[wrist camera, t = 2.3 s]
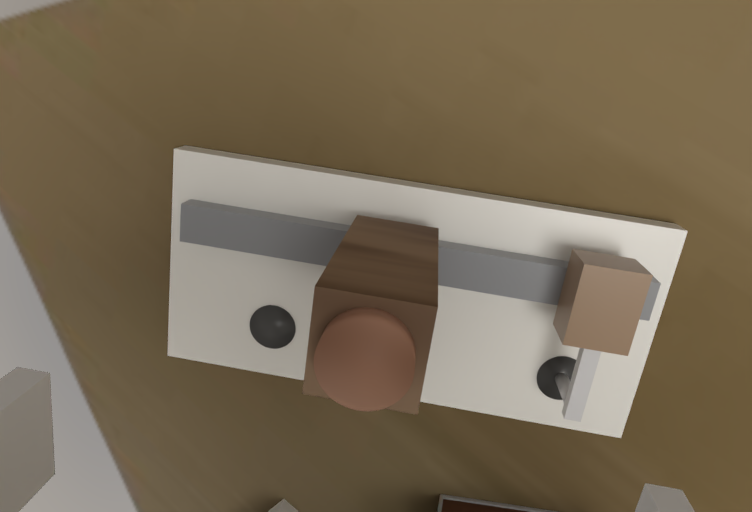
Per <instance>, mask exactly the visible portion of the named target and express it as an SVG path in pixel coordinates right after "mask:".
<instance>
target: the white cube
mask: <svg viewBox="0 0 752 512" xmlns="http://www.w3.org/2000/svg"><path fill="white" fill-rule="evenodd" d="M268 512H299V511H298V510H296V509H295V508H294V507H293V506H292V505H291V504H290V503H289V502H287V501H286V500H285V499H283V500H281V501H280V502H279V503H278V504H276V505H275V506H274V507H273V508H271V509H270V510H269V511H268Z"/></svg>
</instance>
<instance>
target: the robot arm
mask: <svg viewBox="0 0 752 512" xmlns="http://www.w3.org/2000/svg"><path fill="white" fill-rule="evenodd" d="M54 474H55V464H54V444H53V425H52V405H51V384H50V373H48V372H42V371H37V370H31V369H26V368H21V367H16V368H15V369H14V370H12V371H11V372H10V373H8V374H7V375H5V376H4V377H3V378H1V379H0V512H19V511H20V510H21V509H22V508H23V507H24V506H25V505H26V504H27V503H28V501H29V500H30V499H31V498H32V497H33V496H34V495H35V494H36V493H37V492H38V491H39V490H40V489H41V488H42V487H43V486H44V485H45V484H46V483H47V482H48V481H49V479H50V478H51V477H52V476H53V475H54ZM635 512H695V511H694V510H693V508H692V506H691V505H690V503H689V501H688V499H687V498H686V496H685V494H684V492H683V491H682V490H679V489H674V488H669V487H663V486H658V485H652V484H647V483H645V485H644V488H643V491H642V493H641V496H640V499H639V502H638V505H637V507H636V510H635Z"/></svg>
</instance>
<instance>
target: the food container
mask: <svg viewBox="0 0 752 512" xmlns="http://www.w3.org/2000/svg"><path fill="white" fill-rule="evenodd" d="M437 512H558V511H551V510H545V509H538V508H531V507H525V506H518V505H511V504H504V503H498V502H491V501H484V500H477V499H471V498H464V497H457V496H450V495H444V494H440V498H439V505H438V511H437Z"/></svg>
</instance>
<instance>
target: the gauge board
mask: <svg viewBox="0 0 752 512" xmlns="http://www.w3.org/2000/svg"><path fill="white" fill-rule="evenodd" d="M357 215H362V216H368V217H374V218H380V219H386V220H392V221H398V222H404V223H410V224H416V225H423V226H429V227H435V228H439V241H438V310H437V315H436V320H435V325H434V331H433V336H432V341H431V346H430V352H429V357H428V362H427V368H426V373H425V378H424V383H423V389H422V394H421V399H420V402H425V403H430V404H436V405H441V406H447V407H452V408H458V409H463V410H469V411H474V412H480V413H485V414H491V415H496V416H502V417H507V418H513V419H518V420H524V421H529V422H535V423H540V424H546V425H551V426H557V427H562V428H568V429H573V430H579V431H584V432H590V433H595V434H601V435H606V436H612V437H617V438H621V436H622V433H623V430H624V427H625V424H626V421H627V418H628V415H629V411H630V408H631V405H632V402H633V399H634V396H635V393H636V390H637V387H638V384H639V380H640V377H641V374H642V371H643V368H644V365H645V362H646V359H647V356H648V353H649V350H650V346H651V343H652V340H653V337H654V334H655V331H656V328H657V325H658V322H659V319H660V316H661V312H662V309H663V306H664V303H665V300H666V297H667V294H668V291H669V288H670V285H671V282H672V278H673V275H674V272H675V269H676V266H677V263H678V260H679V257H680V254H681V251H682V247H683V244H684V241H685V238H686V235H687V232H688V231H687V230H685V229H684V228H682V227H681V226H679V225H677V224H676V223H669V222H663V221H657V220H651V219H644V218H638V217H632V216H626V215H619V214H613V213H607V212H601V211H594V210H588V209H582V208H575V207H569V206H563V205H557V204H550V203H544V202H538V201H532V200H525V199H519V198H513V197H507V196H500V195H494V194H488V193H482V192H475V191H469V190H463V189H456V188H450V187H444V186H438V185H431V184H425V183H419V182H413V181H406V180H400V179H394V178H388V177H381V176H375V175H369V174H363V173H356V172H350V171H344V170H338V169H331V168H325V167H319V166H312V165H306V164H300V163H294V162H287V161H281V160H275V159H269V158H262V157H256V156H250V155H244V154H237V153H231V152H225V151H219V150H212V149H206V148H200V147H193V146H187V145H185V146H182V147H178V148H174V158H173V191H172V224H171V257H170V290H169V323H168V356H172V357H178V358H183V359H189V360H194V361H200V362H205V363H211V364H216V365H222V366H227V367H233V368H238V369H244V370H249V371H255V372H260V373H266V374H271V375H277V376H282V377H288V378H293V379H299V380H304V374H305V366H306V357H307V348H308V340H309V331H310V322H311V314H312V305H313V296H314V288H315V285H316V283H317V281H318V280H319V278H320V276H321V275H322V273H323V271H324V270H325V268H326V266H327V265H328V263H329V261H330V260H331V258H332V256H333V255H334V253H335V251H336V249H337V248H338V246H339V244H340V243H341V241H342V239H343V238H344V236H345V234H346V233H347V231H348V229H349V228H350V226H351V224H352V223H353V221H354V219H355V218H356V216H357Z"/></svg>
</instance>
